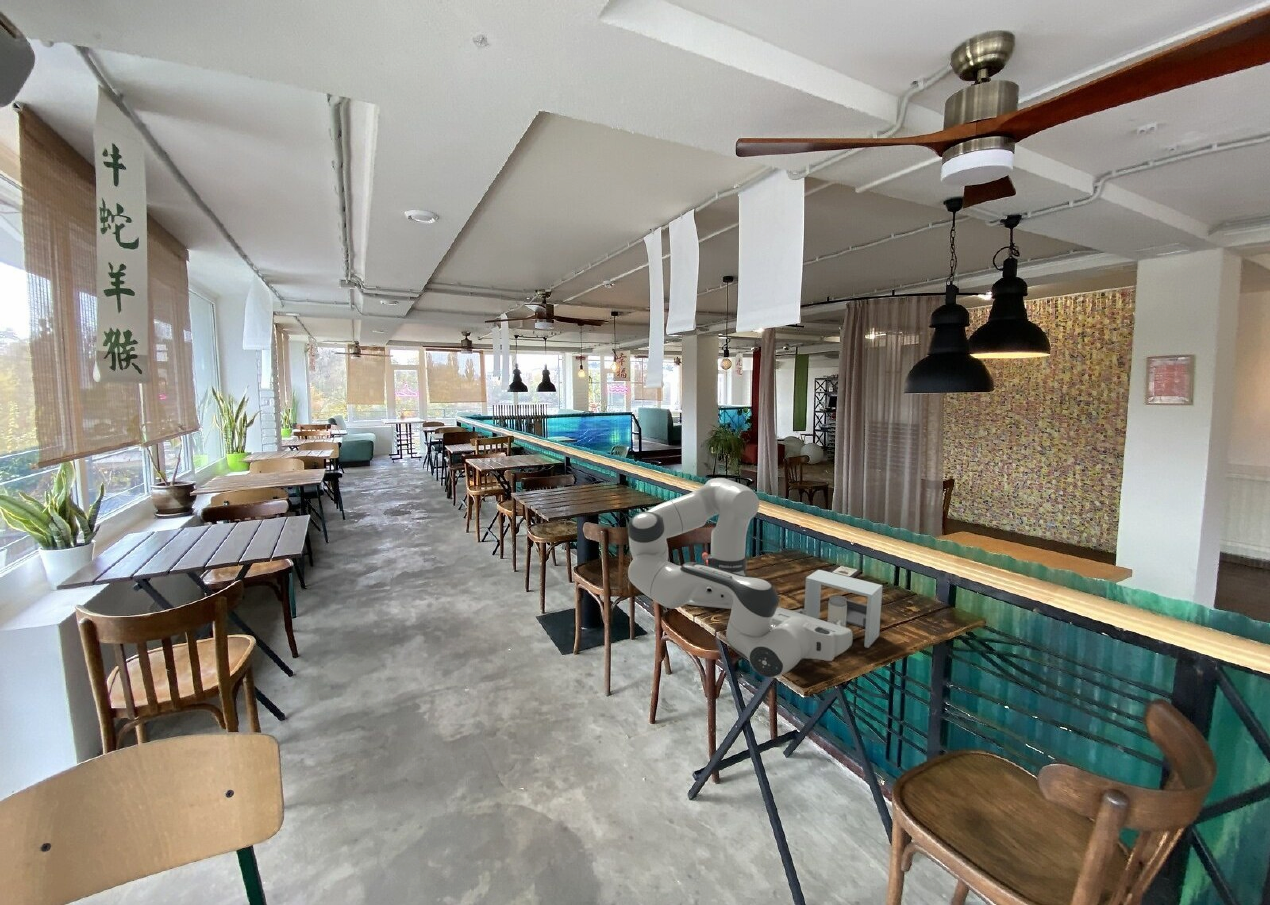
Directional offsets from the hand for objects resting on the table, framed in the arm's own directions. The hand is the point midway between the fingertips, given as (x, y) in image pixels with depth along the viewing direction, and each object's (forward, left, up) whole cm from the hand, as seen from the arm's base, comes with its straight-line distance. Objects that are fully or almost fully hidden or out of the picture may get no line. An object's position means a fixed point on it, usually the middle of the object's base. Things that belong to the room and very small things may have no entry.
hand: (820, 617), depth 132 cm
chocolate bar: (+26, +57, -10) cm, 63 cm away
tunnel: (+10, +13, -10) cm, 19 cm away
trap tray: (+17, +21, -10) cm, 29 cm away
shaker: (+8, +10, -10) cm, 16 cm away
